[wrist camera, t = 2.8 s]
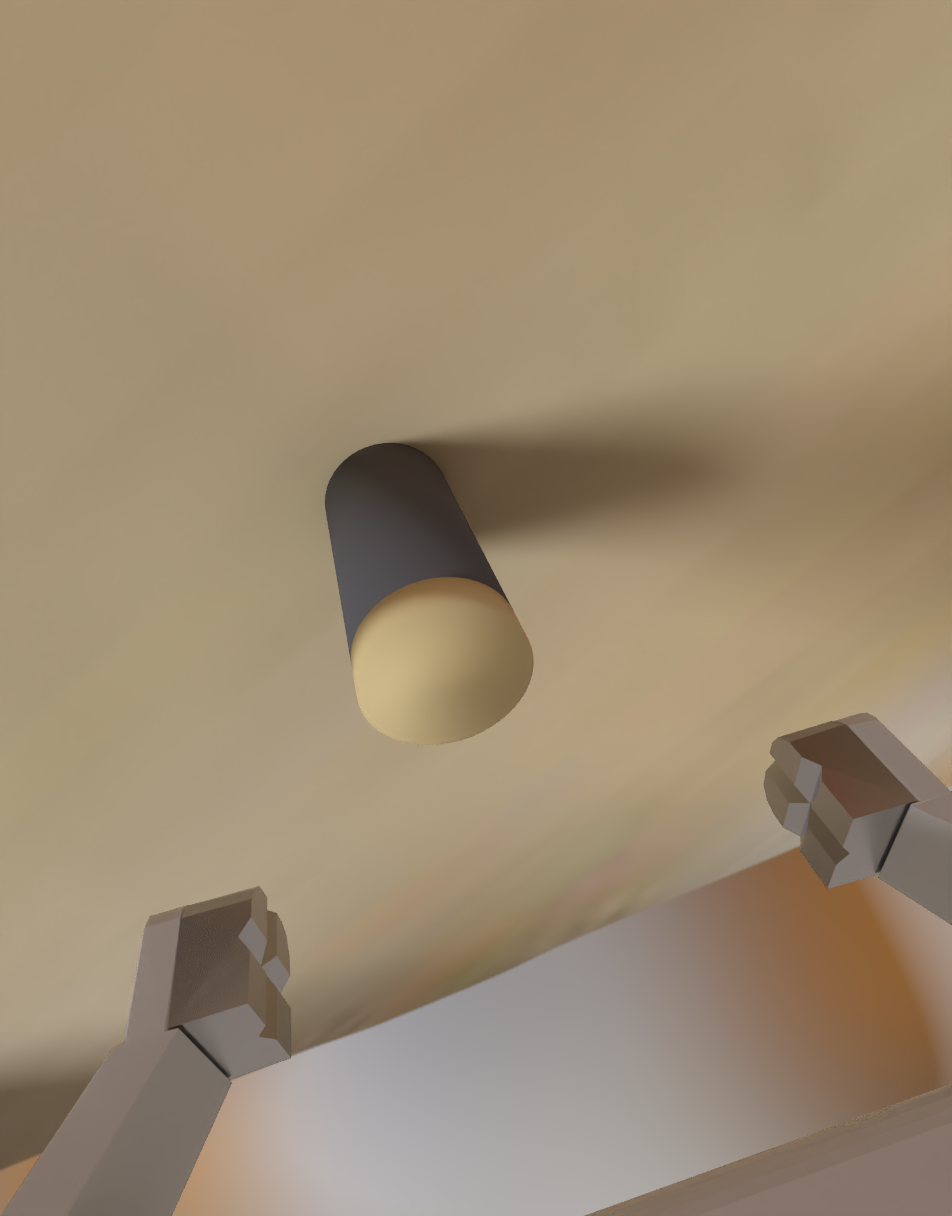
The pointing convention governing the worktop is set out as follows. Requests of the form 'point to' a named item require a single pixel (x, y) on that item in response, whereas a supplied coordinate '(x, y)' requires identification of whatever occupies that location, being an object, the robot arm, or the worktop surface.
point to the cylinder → (420, 602)
